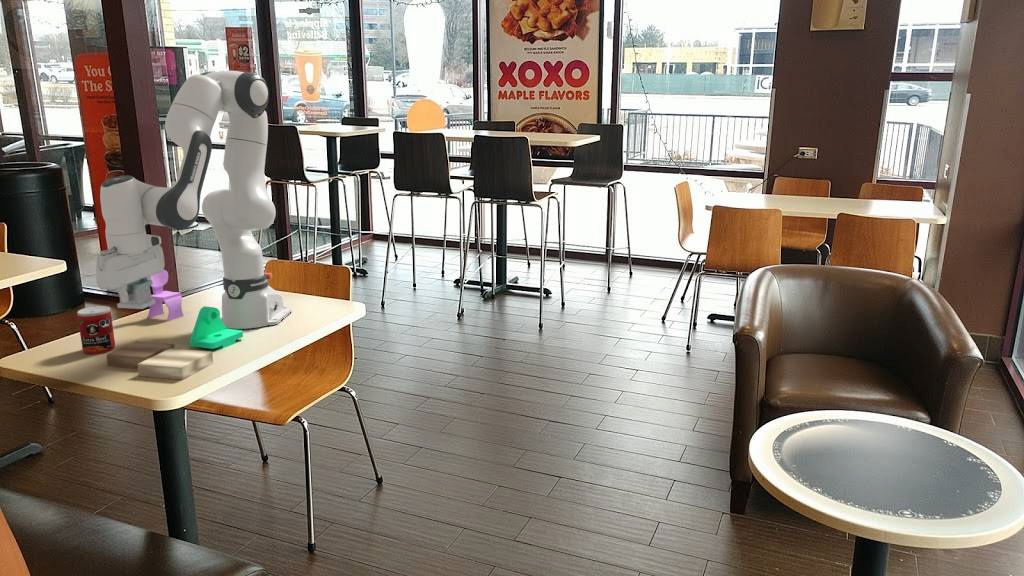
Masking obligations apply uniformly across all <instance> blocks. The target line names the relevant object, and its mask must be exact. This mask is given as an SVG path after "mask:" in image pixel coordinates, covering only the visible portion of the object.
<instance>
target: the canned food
mask: <svg viewBox="0 0 1024 576" xmlns="http://www.w3.org/2000/svg"><path fill="white" fill-rule="evenodd" d="M76 315H77V321H78V327H79V328H78V330H79V335H80V341H81V343H80V344H81V348H82V352H83V353H84V354H86V355H99V354H106V353H110V351H111V352H112V351H114V349H115V347H116V342H115V341H116V340H115V334H114V333H115V332H114V325H113V318H112V317H113V316H112V311H111V307H110V306H106V305H105V306H104V305H97V306H94V305H93V306H88V307H84V308H81V309H78V310H77V313H76Z"/></svg>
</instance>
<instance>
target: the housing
mask: <svg viewBox="0 0 1024 576" xmlns="http://www.w3.org/2000/svg"><path fill="white" fill-rule="evenodd" d="M152 284H153V282H152V280H137V281H134V282H132V283H129V284H126V285H127V289H125V290H126V291H127V293H128V294H131V299H132V300H131V301H129V302H122V301H121V295H119V294H118V297H119V303H117V304H116V306H117V308H118V309H135V310H144V309H147V308H148V307H149V306H151V305H153V304H156V302H155V300H152V298H151V294H152V293H151V292H152V291H151V286H150V285H152Z"/></svg>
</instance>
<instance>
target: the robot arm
mask: <svg viewBox="0 0 1024 576" xmlns="http://www.w3.org/2000/svg"><path fill="white" fill-rule="evenodd" d="M269 98H270V91H269V87H268V84H267V82H266V80H265V79H264V77H262V76H261V75H259V74H257V73H254V72H250V71H245V72H244V71H241V70H239V71H238V70H224V71H223V70H221V71H220V70H219V71H214V70H212V71H211V70H210V71H205V72H202V73H200V74H193V75H191V76H188V77H187V79H186V80H185V81H184V83H183V84H182V85H181V87H180V89H179V90H178V91H177V93H176V95H175V97H174V98H173V101H172V103H171V106H170V108H169V110H168V111H167V114H166V117H165V123H164V128H165V132H166V135H167V136H168V138H169V139H170V140H171V141H172V142H173V143H174V144H175V145H177V147H180V148H181V150H182V152H183V153H182V154H183V155H182V160H181V163H180V167H179V171H178V174H177V178H176V181H175V182H174V183H173V184H172V185H171V186H170V187H163V186H155V185H153V184H149V183H145V182H143V181H140V180H138V179H136V178H135V177H134V176H133V175H120V176H113V177H111V178H108V179H106V180H105V181H103V182H102V184H101V186H100V194H99V196H100V197H99V198H100V199H99V200H100V208H101V215H102V217H103V220H104V222H105V231H104V232H105V240H106V245H107V249H105V250H101V251H100V252H99V254H98V255H97V257H96V263H95V277H96V279H95V280H96V285H97V287H98V288H99V289H100V290H105V291H111V290H115V291H116V292H117V293H118V296H119V295H121V301H122V302H129V301H131V300H132V299H131V294H128V293H127V291H126V290H125V289H127V285H126V284H129V283H132V282H134V281H137V280H151V277H150V276H151V275H154V274H156V273H159V272H162V271H163V269H164V270H165V256H164V251H163V248H162V246H161V244H162V238H161V236H159V235H154V234H148V233H147V231H146V226H147V225H154V226H158V227H159V226H160V227H166V228H170V229H173V230H185V229H188V228H190V227H191V226H192V225H193V224H194V223H195V222H196V220H198V217H199V214H200V208H201V210H202V211H201V212H202V214H203V216H204V218H205V219H206V220H207V221H208V223H209V224H210V226H211V227H212V230H213V232H214V234H215V237H216V240H217V242H218V246H219V249H220V252H221V253H220V255H221V260H222V268H223V277H222V286H223V290H224V292H223V293H222V296H221V316H220V319H221V320H222V322H223V323H224V325H225V326H226V328H227V329H234V330H243V329H244V330H247V329H253V328H254V329H256V328H262V327H267V326H268V325H269V326H275V324H276V325H278V324H280V323H281V322H282V321H283V320H284V319H285V318H287V317H288V316H289V315H290V314H291V313H292V312H293V311H292V308H291V307H285V306H284V301H283V296H282V294H281V293H280V292H279V291H277V290H276V289H274V288H273V287H271V286H270V284H269V281H271V280H272V279H273V274H272V272H269V273H268V272H265V269H264V258H263V257H264V256H263V249H262V247H261V245H260V244H259V243H258V242H257V240H256V239H255V237H254V235H253V232H256V231H261V230H265V229H268V228H270V226H272V225H273V223H274V221H275V219H276V215H277V214H276V213H277V211H276V207H275V204H274V202H273V201H272V200H271V198H270V195H269V194H268V190H267V185H266V179H265V166H266V159H267V158H266V156H267V147H268V138H269V137H268V136H269V135H268V134H269V125H268V122H269V121H268V115H267V111H266V108H267V106H268V103H269ZM219 112H223V113H227V115H228V119H229V123H228V127H227V132H226V137H225V138H226V139H225V145H224V156H223V162H222V167H223V169H224V171H225V172H226V173H227V175H228V178H229V183H230V184H229V185H230V189H228V188H227V189H225V188H224V189H218V190H214V191H211V192H209V193H208V194H206V195H205V197H203V201H202V203H201V195H202V194H201V193H202V189H203V187H204V182H205V180H206V179H205V178H206V174H207V171H208V167H209V163H210V159H211V155H212V149H213V143H212V138H211V135H212V132H213V131H212V130H213V128H214V125H215V123H216V120H217V118H218V114H219ZM200 206H201V207H200ZM291 311H292V312H291ZM290 312H291V313H290ZM289 313H290V314H289ZM288 314H289V315H288ZM287 315H288V316H287ZM284 317H285V318H284ZM283 318H284V319H283ZM282 319H283V320H282ZM281 320H282V321H281ZM280 321H281V322H280Z"/></svg>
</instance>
